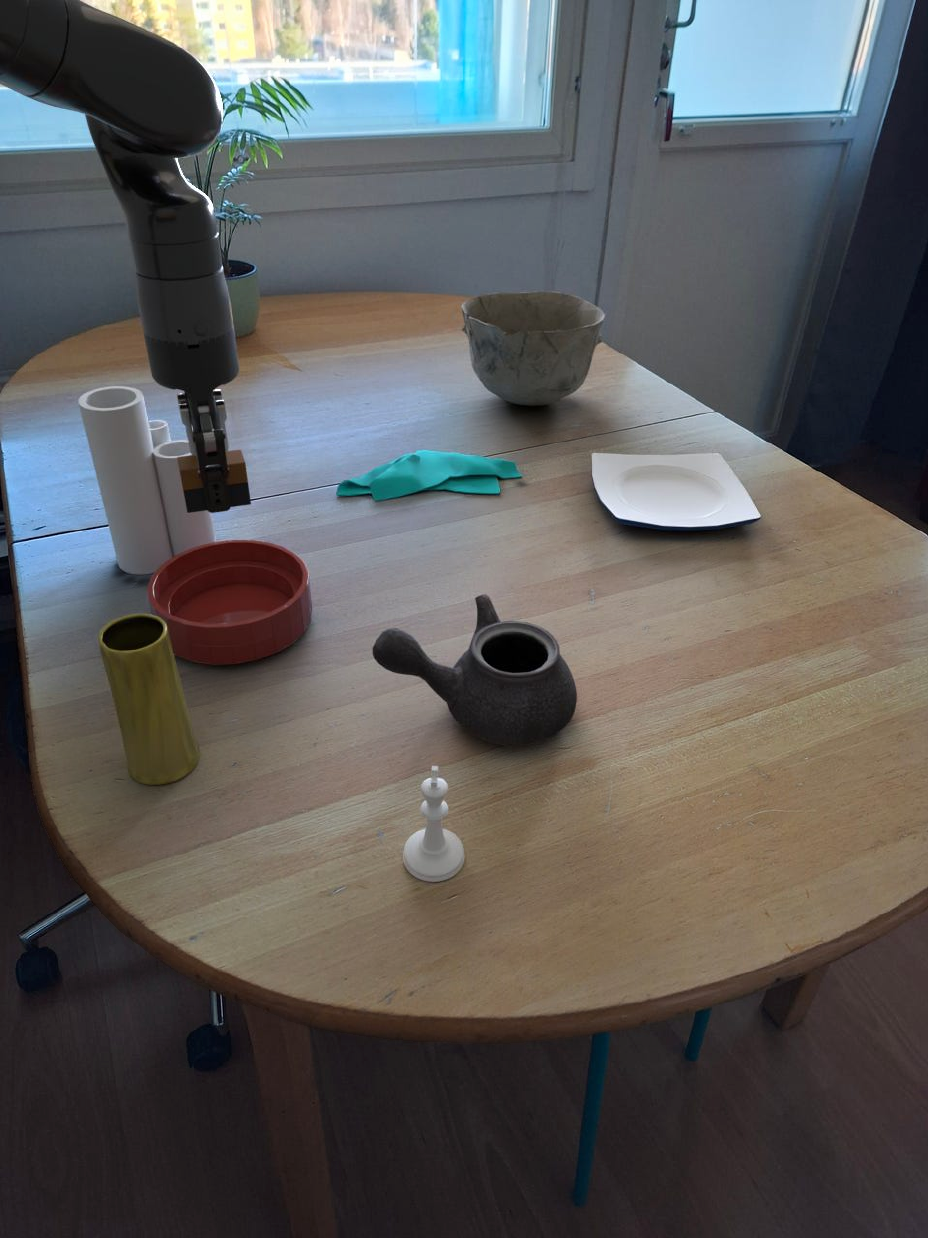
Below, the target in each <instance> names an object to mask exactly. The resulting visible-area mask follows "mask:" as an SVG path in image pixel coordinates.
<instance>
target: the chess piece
mask: <svg viewBox="0 0 928 1238" xmlns="http://www.w3.org/2000/svg"><path fill="white" fill-rule="evenodd" d="M430 771H431V775H430V776H431V777H429V778H427V779H425V780H423V782H422V783H421V786H420V791H421V794H422V796H423V798H424V801H423V802H422V803H421V805H420V807H419V811H420V814H421V816H422V817H423V818H424V819H426V823H425V828H421V829H419V830H418V831H415V832H414V833H413V834H411V836H409V837H408V838H407V840H406V842H405V845H404V847H403V852H402V861H403V865H404V868H405V869H406V870H407V871H408V873H409V874H410V875H412V876H413V877H415V878H416V879H419V880H421V881H424V882H431V883H438V882H443V881H446V880H449V879H451V878H453V877H455V876H456V875H457V874H458V872H460V871H461V869H462V868H463V866H464V864H465V860H466V859H465V858H466V854H465V848H464V845H463V842H462V841H461V838H460V837H459V836H458V835H456V834H455V833H454V832H452V831H450V830H449V829H446V828H444V827H443V823H442V822H443V821H442V820H443V819H444V818H445V817H447V815H448V814H449V806H448V803H447V802H446V801H445V800H444V799H445V797H446V796H447V793H448V791H449V785H448V783H447V782H446V780H445V779H443V778H441V777H438V776H439V766H438V765H431V770H430Z"/></svg>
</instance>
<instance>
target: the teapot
mask: <svg viewBox="0 0 928 1238" xmlns="http://www.w3.org/2000/svg"><path fill="white" fill-rule="evenodd" d="M474 600H475V604H476V626H475V628H474V631H473V635H472V637H471V640H470V642H469V647H468V648H467V650H466V651H465V652H464V653H463V654H462V655H461V656H460V658H459V659H457V662H456V663H455V664H454V666H453V667H451V666H446V665H443V664H439V663H437V662H435V661H433V660H432V659H431V658H430V657H429V656H428V655H427V654H426V652H425V651H424V650H423V648H422V647H421V645H420V643H419V642H418V641H417V640H416V639H415V637H414V636H413V635H411V634H410V633H408V632H406V631H404V630H402V629H400V628H397V627H390V628H387V629H385V630H383V631H382V632H381V633H380V635H379V636H378V637H377V638H376V640H375V642H374V644H373V646H372V656H373V659H374V661H376V663H377V664H378V665H379V666H380V667H382V668H383V669H384V670H387V671H389V672H392V673H394V674H398V675H407V676H413V677H418V678H419V679H421V680H423V681H424V682H425V683H426V684H427V685H428V687H429V688H430V689H431V690H433V692H434V693H435V694H436V695H438V697H440V698H441V699H442V700H443V701H444V702H445V703H446V705H447V708H448V711H449V714H451V716H452V717H453V719H454V720H455V722H456V723H457V724H458V725H460V727H461V728H462V729H463V730H465V731H466V732H467V733H469V734H471V735H472V736H474V737H476V738H478V739H481V740H483V741H486V742H487V743H488V742H489V743H490V744H491V743H492V744H496V745H502V746H510V747H511V746H512V747H513V746H514V747H516V746H527V745H534V744H538V743H541V742H543V741H546V740H548V739H550V738H552V737H554V736H556V735H558V734H559V733H560V732H562V731H563V730H564V729H565V728H566V726H567V725H568V724H569V723H570V722H571V720H572V719H573V716H574V714H575V712H576V708H577V703H578V702H577V701H578V693H577V691H578V690H577V687H576V686H577V685H576V682H575V679H574V676H573V674H572V671H571V669H570V667H569V665H568V664H567V662H566V660H565V659H564V657H563V656H562V655H561V652H560V651H561V650H560V645H559V642H558V640H557V639H556V638H555V636H554V635H553V634H551V632H549V630H547V629H545V628H543V627H541V626H540V625H538V624H534V623H531V622H527V621H518V620H506V621H505V620H503V621H501V620H500V618H499V616H498V614H497V611H496V609H495V607H494V605H493V602H492V599H491V598H490V596H489V595H488V594H486V593H484V594H480V595H477V596H476V597H475V598H474Z"/></svg>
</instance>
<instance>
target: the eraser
mask: <svg viewBox="0 0 928 1238" xmlns="http://www.w3.org/2000/svg"><path fill="white" fill-rule="evenodd" d="M226 458H227V467H228V469H229V472H230V474H228V475H229V478H228V479H227V485H228V492H229V498H230V505H231V508H234V507H241V506H249V505H252V500H251V493H250V486H249V479H248V472H247V463H246V461H245V457H244V454H243V451H242V449H234V450H228V451H227V452H226ZM177 459H178V465H179V471H180V476H181V482H182V487H183V492H184V498H185V503H186V508H187V513H192V512H199V511H206V510H207V507H206V501H205V495H204V489H203V483H202V481H201V478H199V476H198V470H199V467H198V461H197V457H196V456H194V455H191V456H182V457H177Z"/></svg>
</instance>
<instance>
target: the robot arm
mask: <svg viewBox="0 0 928 1238" xmlns="http://www.w3.org/2000/svg"><path fill="white" fill-rule="evenodd" d="M0 85H1V86H3V87H5V88H7V89H9V90H12V91H14V92H15V93H17V94H20V95H22V96H25V97H26V98H28V99H31V100H34V101H36V102H38V103H41V104H44V105H47V106H50V107H54V108H58V109H62V110H63V109H64V110H68V111H72V112H77V113H80V114H83V115H84V116H85V120H86V124H87V128H88V131H89V134H90V138H91V140H92V142H93V145H94V147H95V150H96V153H97V155H98V157H99V160H100V163H101V165H102V167H103V169H104V173H105V174H106V178H107V180H108V182H109V185H110V186H111V189H112V192H113V194H114V196H115V198H116V200H117V202H118V204H119V206H120V208H121V211H122V213H123V216H124V219H125V225H126V226H125V227H126V233H127V237H128V242H129V247H130V253H131V259H132V263H133V268H134V275H135V285H136V286H135V287H136V290H135V291H136V300H137V306H138V312H139V316H140V317H139V318H140V322H141V327H142V331H143V332H142V333H143V338H144V342H145V348H146V352H147V359H148V363H149V368H150V374H151V377H152V379H153V381H155V383H157V384H158V385H159V386H161V387H164V388H165V389H169V390H173V391H174V390H179V391H182V393H176V398H177V404H178V408H179V413H180V419H181V423H182V425H184V428H185V432H186V437H187V440H188V443H189V448H190V452H191V454H192V455H194V456H196V457H197V461H198V467H199V470H198V476H199V478H201V481H202V483H203V489H204V495H205V501H206V507H207V510H208V512H210V513H212V514H214V513H215V514H216V513H223V512H228V511H229V510H231V508H232V507H231V505H230V498H229V492H228V485H227V479H228V478H229V475H228V474H230V472H229V469H228V467H227V458H226V452H227V451H229V448H230V446H229V439H228V434H227V428H226V427H227V426H226V421H227V418H228V415H227V409H226V404H225V400H224V399H223V393H222V390H221V389H217V388H218V387H221V386H225V385H227V384H229V383H230V382H232V381H234V380H235V379H236V378H237V376H238V375H239V372H240V364H239V356H238V348H237V341H236V333H235V325H234V319H233V311H232V310H233V309H232V302H231V296H230V292H229V287H228V284H227V279H226V276H225V272H224V271H225V270H224V267H223V259H222V258H223V257H222V251H221V242H220V235H219V228H218V222H217V217H216V213H215V208H214V205H213V203H212V201H211V200H210V198H209V196H207V195H206V194H205V193H204V192H203V191H201V190H200V189H198V188H196V186H194V185H192V184H191V183H190V182H188V180H187V179H186V177H185V176H184V175H183V172H182V170H181V168H180V164H179V162H178V159H179V160H180V159H190V158H194V157H196V156H200V155H202V154H203V153H205V152H206V151H208V150H209V149H210V148H211V147H212V146H213V145H214V143H215V142H216V140H217V139H218V137H219V135H220V133H221V130H222V125H223V121H224V119H223V118H224V109H223V108H224V107H223V101H222V98H221V94H220V91H219V88H218V87H217V85H216V82H215V80H214V79H213V77H212V75H211V74H210V72H209V71H208V70H207V69H206V67H205V66H204V65H203V64H202V63H201V61H199V60H198V59H197V58H196V57H195V56H194V55H192V54H191V53H190V52H188V50H186V49H184V48H183V47H181V46H180V45H178V44H176V43H174V42H172V41H171V40H168V39H167V38H165V37H162V36H161V35H158V34H156V33H154V32H152V31H150V30H148V29H146V28H143V27H141V26H139V25H137V24H135V23H132V22H130V21H127V20H126V19H123V18H121V17H119V16H116V15H113V14H112V13H108V12H106V11H103V10H101V9H99V8H96V7H94V6H92V5H90V4H88V3H86V2H84V1H82V0H0Z"/></svg>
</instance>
